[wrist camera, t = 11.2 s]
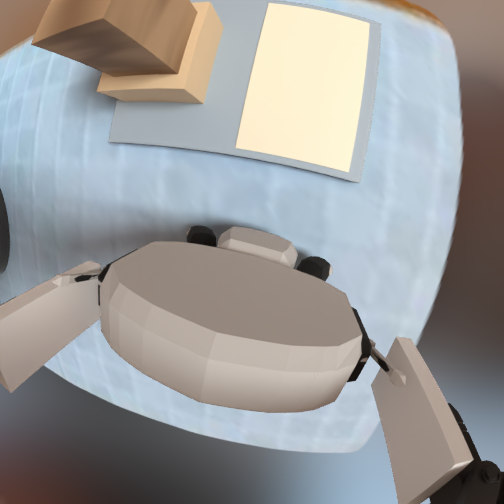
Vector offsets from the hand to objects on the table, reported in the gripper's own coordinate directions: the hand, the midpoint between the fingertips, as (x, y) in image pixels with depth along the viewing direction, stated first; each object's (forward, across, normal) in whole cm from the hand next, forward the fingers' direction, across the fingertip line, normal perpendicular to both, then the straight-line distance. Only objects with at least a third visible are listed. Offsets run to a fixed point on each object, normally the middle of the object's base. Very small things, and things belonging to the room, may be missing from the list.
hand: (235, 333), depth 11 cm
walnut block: (+6, -10, +14) cm, 18 cm away
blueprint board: (+11, -4, +14) cm, 18 cm away
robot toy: (+11, 0, 0) cm, 11 cm away
